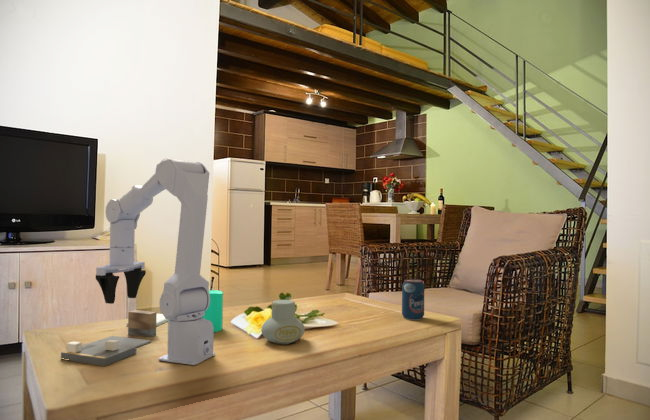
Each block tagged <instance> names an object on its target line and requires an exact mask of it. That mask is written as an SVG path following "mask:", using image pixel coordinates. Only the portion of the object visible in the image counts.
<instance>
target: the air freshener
mask: <svg viewBox="0 0 650 420" xmlns="http://www.w3.org/2000/svg"><path fill="white" fill-rule="evenodd" d="M260 329H261V334H262V336H263V337H264V338H265V339H266V340H267V341H269V342H271V343H274V344H279V345H289V344H291V343H295V342H296V341H298V340H300V339H301V338H302V337H303V336H304V333H305V329H306V328H305V324H304V323H303V321H301V319H299V318H298V317H296V301H294V300H291V299H276V300H272V302H271V317H270V318H268V319H267V320H265V321H264V322H263V323H262V326H261V328H260Z"/></svg>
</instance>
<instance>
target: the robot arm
mask: <svg viewBox="0 0 650 420" xmlns="http://www.w3.org/2000/svg"><path fill="white" fill-rule="evenodd" d="M154 172H155V173H154V174H153V175H152V176H151V177H150V178H149V179H147V181H145V183H144V184H143V185H133V186H132V187H131V189H130V190H129V191H127V192H126V194H124V195H122V197H121V198H119V199H109V201H108V202H107V204H106V206H105V218H106V220H107V221H108V222H109V223H110V224H109V226H110V227H109V263H107V264H106V265H103V266H96V269H95V270H96V274H95V280H96V281H97V283H98V285H99V287H100V289H101V291H102V295H103V297H104V302H105V304H110V305H111V304H115V300H116V292H117V290H116V289H117V287H118V286H117V285H118V281H119V279H120V276H119V275H115V274H117V273H122V272H123V273H124V277H125V281H126V295H127V298H128V299H136V298H137V294H138V293H139V288H140V285H141V283H142V281H143V279H144V277H145V276H146V274H147V273H146V270H145V267H146V266H145V261H135V230H137V227H138V221H139V218H140V216H141V213H142V212H143V211H145V210H147V208H149V207H150V206H151V205H152V204H153V202H154V197H155V196H157V195H159V194H161V193H162V192H163V191H165V190H166V191H167V192H168V193H170V194H171V195H173V196H174V197H175V198H177V200H178V201H179V202H180V203H181V204H180V205H181V206H180V214H179V226H178V233H177V235H178V236H177V245H176V254H175V255H176V256H175V264H174V265H175V266H174V273H173V274H172V275H171V276H170V277H169V278H168V279H167V280H166V281H165V282H164V284H163V291H162V293H161V295H160V298H159V309H160V312H161V314H163V315H164V317H165V319H168V321H167V353H166V354H164V355H162V356H160V357H158V361H162V362H169V363H175V364H181V365H182V364H183V365H189V366H196V365H198V364H200V363H202V362H204V361H205V360H208V359H210V358H212V357H213V356H215V355H216V352H214V333H215V332H214V328H213V324H212V322H211V321H209V320H206V319H204V318H203V317H202V316H205V311H206V310H207V309H208V307H209V305H210V294H209V290H210V288H209V287H210V282H209V281H208V280H207V279H206V278H205V277H203V275H201V268H202V258H203V257H202V256H203V247H204V239H205V238H204V237H205V226H206V216H207V209H208V208H207V207H208V201H209V200H208V191H209V182H210V172H209V170H208V169H207V167H206V166H205V165H204V163H203V162H200V161H197V162H196V161H195V162H193V161H186V160H179V159H171V158H169V157H167V158H163V159H162V160H160V162H159V163H157V164H156V167H155V171H154Z"/></svg>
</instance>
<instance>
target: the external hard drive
mask: <svg viewBox="0 0 650 420" xmlns="http://www.w3.org/2000/svg"><path fill="white" fill-rule="evenodd" d="M165 323H168V319H165V317H164V315H163V314H162V313H157V314H156V327H159V326H161V325H163V324H165ZM125 325H126V327H128V322H127V323H126V324H125Z"/></svg>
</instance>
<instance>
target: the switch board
mask: <svg viewBox="0 0 650 420" xmlns="http://www.w3.org/2000/svg"><path fill="white" fill-rule="evenodd" d="M136 352H137V348H136V347H133V346H125V345H119V349H117V350H114V351H111V350H105V343H102V342H95V341H92V342H89V343H86V344H83V345H81V351H79V352H76V353H73V352H67V350H65V351H61V352H60V359H61V358H64V359H69V360H71V361H70V362H75V363H82V364H89V365H95V366H101V367H106V366H109V365H111V364H113V363H116V362H118V361H121V360H123V359H126V358H129V357H131V356H133V355H135V354H137V353H136Z"/></svg>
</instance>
